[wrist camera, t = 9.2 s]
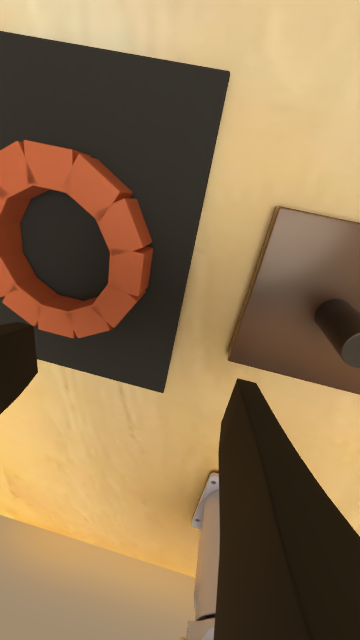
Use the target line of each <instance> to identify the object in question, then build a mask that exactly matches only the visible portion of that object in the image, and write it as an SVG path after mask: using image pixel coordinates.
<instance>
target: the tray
mask: <svg viewBox="0 0 360 640" xmlns="http://www.w3.org/2000/svg"><path fill="white" fill-rule="evenodd" d="M229 77H230V72H229V71H225V70H219V69H213V68H208V67H202V66H196V65H191V64H185V63H179V62H174V61H168V60H162V59H156V58H151V57H145V56H139V55H134V54H128V53H122V52H117V51H111V50H105V49H100V48H94V47H88V46H82V45H77V44H71V43H65V42H60V41H54V40H48V39H43V38H37V37H31V36H25V35H20V34H14V33H8V32H3V31H0V150H2V149H4V148H5V147H7V146H9V145H11V144H12V143H14V142H16V141H20V142H24V140H29V141H33V142H38V143H43V144H48V145H53V146H58V147H62V148H67V149H72V150H75V151H78V152H81V153H84V154H88V155H91V157H92V158H95V159H98V160H99V161H100V162H101V163H102V164H103V165H104V166H105V167H106V168H107V169H109V170H110V171H111V172H112V173H113V174H114V175H115V176H116V177H117V178H118V179H119V180H120V181H121V182H122V183H123V184H124V185H126V186H127V187H128V188H129V189H130V190H131V191H132V192H133V194H132V195H131V197H130V198H131V199H137V201H138V204H139V206H140V209H141V212H142V214H143V217H144V220H145V223H146V225H147V228H148V231H149V234H150V236H151V239H152V243H150V244H149V245H147V247H151V248H153V255H152V262H151V270H150V277H149V284H148V287H147V288H146V289H145V291H146V292H145V293H144V295H143V296H142V297H141V298H140V299H139V300H138V302H137V303H136V304H135V305H134V306H133V307H132V309H131V310H130V311H129V312H128V313H127V314H126V316H125V317H124V318H123V319H122V320H121V321H120V322H119V323H118V325H117V326H116V327H115V328H114V327H113V328H112V329H111V330H109V331H105V332H101V333H98V334H94V335H90V336H86V337H82V338H78V337H77V335H76V336H75V337H74V338H70V337H66V336H62V335H59V334H55V333H51V332H47V331H43V330H40V329H38V324H37V325H36V326H34V336H35V346H36V357H37V359H39V360H43V361H46V362H50V363H54V364H57V365H61V366H65V367H68V368H72V369H76V370H79V371H83V372H87V373H91V374H94V375H98V376H102V377H105V378H109V379H113V380H116V381H120V382H124V383H127V384H131V385H135V386H138V387H142V388H146V389H150V390H153V391H157V392H161V393H163V392H164V388H165V383H166V378H167V374H168V369H169V364H170V359H171V354H172V350H173V345H174V340H175V335H176V331H177V326H178V321H179V316H180V311H181V307H182V302H183V297H184V292H185V287H186V283H187V278H188V273H189V268H190V264H191V259H192V254H193V249H194V244H195V240H196V235H197V230H198V225H199V220H200V216H201V211H202V206H203V201H204V197H205V192H206V187H207V182H208V177H209V173H210V168H211V163H212V158H213V154H214V149H215V144H216V139H217V134H218V130H219V125H220V120H221V115H222V110H223V106H224V101H225V96H226V91H227V87H228V82H229ZM20 227H21V237H22V248H23V253H24V255H25V257H26V259H27V260H28V262H29V264H30V266H31V267H32V269H33V271H34V273H35V275H36V276H37V278H38V279H40V280H41V281H42V282H43V283H45V284H46V285H47V286H48V287H50V288H51V289H52V290H53V291H55V292H56V293H57V294H58V295H62V296H66V297H70V298H74V299H78V300H82V301H85V300H88V299H91V298H95V297H98V296H99V295H100V293H101V292H102V291H103V289H104V288H105V287H106V285H107V284H108V277H109V261H110V251H109V249H108V246H107V244H106V242H105V239H104V237H103V235H102V232H101V230H100V228H99V226H98V223H97V221H96V219H95V218H94V217H93V216H92V215H91V214H90V213H89V212H87V211H86V210H85V209H84V208H83V207H82V206H81V205H80V204H78V203H77V202H76V201H75V200H74V199H73V198H72V197H70V196H69V195H68V194H67V193H64V192H60V191H55V190H48V191H46V192H44V193H42V194H40V195H38V196H36V197H34V198H32V199H31V200H30V203H29V205H28V207H27V209H26V211H25V213H24V215H23V217H22V220H21V222H20ZM4 298H5V296H3V297H0V325H3V324H8V323H13V322H20V323H24V324H28V325H31V324H30V323H28V322H27V321H26V320H24V319H23V318H22V317H20V316H19V315H18V314H17V313H15V312H14V311H13V310H11V309H10V308H9V307H7V306H6V305H5V304H3V302H2V301H3V300H4Z"/></svg>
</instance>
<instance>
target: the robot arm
mask: <svg viewBox="0 0 360 640" xmlns="http://www.w3.org/2000/svg"><path fill="white" fill-rule="evenodd" d="M37 373H38V368H37V357H36V346H35V336H34V326H32V325H28V324H24V323H20V322H13V323H8V324H3V325H0V414H1V413H2V412H3V411H4V410H5V409H6V408H7V407H8V406H9V405H10V404H11V403H12V402H13V401H14V400H15V399H16V398H17V397H18V396H19V395H20V394H21V393H22V392H23V390H24V389H25V388H26V387H27V386H28V384H29V383H30V382H31V380H32V379H33V378H34V377H35V375H36V374H37ZM191 525H192V526H193V527H195V528H198V529H200V534H199V545H198V557H197V568H196V580H195V591H194V607H195V614H196V619H195V621H188V627H187V636H186V637H182V638H180V639H179V640H360V537H359V535H358V534H357V533H356V532H355V530H354V529H353V528H352V527H351V525H350V524H349V523H348V521H347V520H346V519H345V518H344V516H343V515H342V514H341V512H340V511H339V510H338V508H337V507H336V506H335V505H334V503H333V502H332V501H331V499H330V498H329V497H328V496H327V494H326V493H325V491H324V490H323V489H322V487H321V486H320V485H319V483H318V482H317V480H316V479H315V478H314V476H313V475H312V473H311V472H310V470H309V469H308V467H307V466H306V465H305V463H304V462H303V460H302V459H301V457H300V456H299V454H298V453H297V451H296V450H295V448H294V447H293V445H292V443H291V442H290V440H289V439H288V437H287V435H286V434H285V432H284V431H283V429H282V427H281V426H280V424H279V422H278V421H277V419H276V417H275V415H274V414H273V412H272V410H271V409H270V407H269V405H268V403H267V401H266V400H265V398H264V396H263V394H262V393H261V391H260V389H259V387H258V386H257V384H256V383H253V382H250V381H246V380H242V379H238V378H237V381H236V384H235V386H234V389H233V392H232V395H231V397H230V400H229V403H228V406H227V408H226V411H225V414H224V417H223V419H222V422H221V432H220V442H219V473H215V472H214V473H211V474H210V476H209V478H208V481H207V483H206V486H205V488H204V491H203V493H202V496H201V498H200V501H199V503H198V506H197V508H196V511H195V513H194V516H193V518H192V522H191Z"/></svg>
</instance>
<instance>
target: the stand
mask: <svg viewBox="0 0 360 640" xmlns="http://www.w3.org/2000/svg"><path fill="white" fill-rule="evenodd" d="M228 361H231V362H235V363H239V364H243V365H247V366H251V367H255V368H258V369H262V370H266V371H270V372H274V373H278V374H282V375H286V376H290V377H293V378H297V379H301V380H305V381H309V382H313V383H317V384H321V385H325V386H328V387H332V388H336V389H340V390H344V391H348V392H352V393H356V394H360V223H356V222H351V221H347V220H342V219H337V218H332V217H328V216H323V215H318V214H313V213H309V212H304V211H299V210H294V209H290V208H285V207H280V206H277V207H276V209H275V212H274V215H273V218H272V221H271V224H270V227H269V230H268V233H267V236H266V239H265V242H264V245H263V248H262V251H261V254H260V257H259V260H258V264H257V267H256V270H255V273H254V276H253V279H252V282H251V285H250V288H249V291H248V294H247V297H246V300H245V303H244V306H243V309H242V312H241V315H240V318H239V321H238V324H237V327H236V330H235V333H234V336H233V339H232V342H231V345H230V348H229V351H228Z"/></svg>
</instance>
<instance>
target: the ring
mask: <svg viewBox="0 0 360 640" xmlns="http://www.w3.org/2000/svg"><path fill="white" fill-rule="evenodd" d="M48 190H55V191H60V192H64V193H67V194H68V195H69V196H70V197H72V198H73V199H74V200H75V201H76V202H77V203H78V204H80V205H81V206H82V207H83V208H84V209H85V210H86V211H87V212H89V213H90V214H91V215H92V216H93V217H94V218H95V219H96V221H97V223H98V226H99V228H100V230H101V232H102V235H103V237H104V239H105V242H106V244H107V246H108V249H109V251H110V261H109V277H108V284H107V285H106V287H105V288H104V289H103V291H102V292H101V293H100V295H99V296H98V297H95V298H91V299H88V300H85V301H82V300H78V299H74V298H70V297H66V296H62V295H58V294H57V293H56V292H55V291H53V290H52V289H51V288H50V287H48V286H47V285H46V284H45V283H43V282H42V281H41V280H40V279H38V278H37V276H36V275H35V273H34V271H33V269H32V267H31V266H30V264H29V262H28V260H27V259H26V257H25V255H24V253H23V248H22V237H21V227H20V222H21V220H22V217H23V215H24V213H25V211H26V209H27V207H28V205H29V203H30V200H31V199H32V198H34V197H36V196H38V195H40V194H42V193H44V192H46V191H48ZM132 194H133V192H132V191H131V190H130V189H129V188H128V187H127V186H126V185H124V184H123V183H122V182H121V181H120V180H119V179H118V178H117V177H116V176H115V175H114V174H113V173H112V172H111V171H110V170H109V169H107V168H106V167H105V166H104V165H103V164H102V163H101V162H100V161H99V160H98V159H95V158H92V157H91V155H88V154H84V153H81V152H78V151H75V150H72V149H67V148H62V147H58V146H53V145H48V144H43V143H38V142H33V141H29V140H24V142H20V141H16V142H14V143H12V144H11V145H9V146H7V147H5V148H4V149H2V150H0V297H3V296H5V298H4V300H3V301H2V302H3V304H5V305H6V306H7V307H9V308H10V309H11V310H13V311H14V312H15V313H17V314H18V315H19V316H20V317H22V318H23V319H24V320H26V321H27V322H28V323H30V324H31V325H32V326H36V325H37V324H38V329H40V330H43V331H47V332H51V333H55V334H59V335H62V336H66V337H70V338H74V337H75V336H76V335H77V337H78V338H82V337H86V336H90V335H94V334H98V333H101V332H105V331H109V330H111V329H112V328H113V327H114V328H115V327H116V326H117V325H118V323H119V322H120V321H121V320H122V319H123V318H124V317H125V316H126V314H127V313H128V312H129V311H130V310H131V309H132V307H133V306H134V305H135V304H136V303H137V302H138V300H139V299H140V298H141V297H142V296H143V295H144V293H145V292H146V291H145V289H146V288H147V287H148V284H149V277H150V270H151V262H152V255H153V248H151V247H147V245H149V244H150V243H152V239H151V236H150V234H149V231H148V228H147V225H146V223H145V220H144V217H143V214H142V212H141V209H140V206H139V204H138V201H137V199H131V198H130V197H131V195H132Z"/></svg>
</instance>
